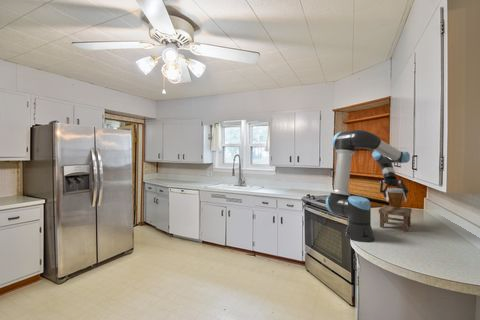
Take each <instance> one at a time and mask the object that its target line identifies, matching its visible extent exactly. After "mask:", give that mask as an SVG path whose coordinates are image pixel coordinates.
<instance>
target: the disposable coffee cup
mask: <svg viewBox="0 0 480 320" xmlns="http://www.w3.org/2000/svg"><path fill="white" fill-rule="evenodd" d="M386 192H387V193H388V197H389V202H388V203H389V205H388V206H390V207H394V208H400V207H402V201H403V197H402V196H403V192H404V191H403V189H400V188H396V187H388V188H387V190H386Z"/></svg>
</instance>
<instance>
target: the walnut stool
mask: <svg viewBox="0 0 480 320" xmlns="http://www.w3.org/2000/svg"><path fill="white" fill-rule="evenodd" d="M412 211H413V210H412V208H410V207H403V206H401V207H400V208H394V207H390V205H382V207H380V208H378V214H379V228H385V225H391V226H392V225H393V226H400V227H403V228H402V229H403V232H406V233H408V231H409V228H410V227H411V226H412V225H411V224H412V223H411V222H412V221H411V218H412V216H411V213H412ZM389 215H390V216H391V215H392V216H399V217H403V218H396V217H390V216H389ZM390 220H391V221H390ZM392 221H398V222H392ZM401 222H403V223H401Z"/></svg>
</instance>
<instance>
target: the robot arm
mask: <svg viewBox="0 0 480 320" xmlns="http://www.w3.org/2000/svg"><path fill="white" fill-rule="evenodd" d="M332 145H333V148H334V149H335V152H336V153H337V155H336V156H337V157H336V164H335V173H334V183H333V190H331V191H330V194H329V195H327V197H326V199H325V207H326V209H327V211H328V212H330V213H331V214H334V215H338V216H342V217H346V218H348V219H347V220H348V224H347V226H346V228H345V232H344V233H345V237H346V238H347V239H349V240H352V241H356V242H362V243H364V242H367V243H368V242H373V241H375V233H374V232H373V227H372V223H371V222H372V221H371V220H372V217H371V216H372V215H371V213H372V212H371V211H372V206H371V205H372V204H371V200H369V199H368V198H366V197H362V196H359V195H358V196H357V195H351V194H350V192H349V185H350V176H351V168H352V159H353V155H354V154H356V150H358V149H366V150H369V151H373V152H372V153H371V156H372V158H373V160H374V161H375V162H376V163H377V165H378V166H380V169H381V172H382V176H383V180H382V179H380V180H379V184H380V187H379V193H382V194H383V197H384V198H386V202H387V203H389V197H388V192H387V189H388V188H389V187H394V188H400V189H403V191H404V192H403V196H402V201H403V203H407V201H408V200H407V198H408V196H407V194H409V192H410V190H409V189H408V188H407V186H406V184H405V183H404V180H403V179H402V180H399V179H398V178H397V176H396V175H397V174H396V172H395V169H394V166H393V164H394V163H395V164H396V163H397V164H398V163H399V164H404V163H405V164H407V163H409V162H410V160H411V154H410V153H409V152H408V151H400V150H399V149H397V148H396V147H393V146H392V145H391V144H388V143H387V142H386V141H383V140H382V138H381V137H380V136H378V135H377V134H376V133H373V132H370V131H368V130H366V129H365V130H364V129H355V130H343V131H340V132H337V133H335V135H334V136H333V138H332ZM384 184H385V185H386V186H385V187H384ZM383 187H384V188H383Z"/></svg>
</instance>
